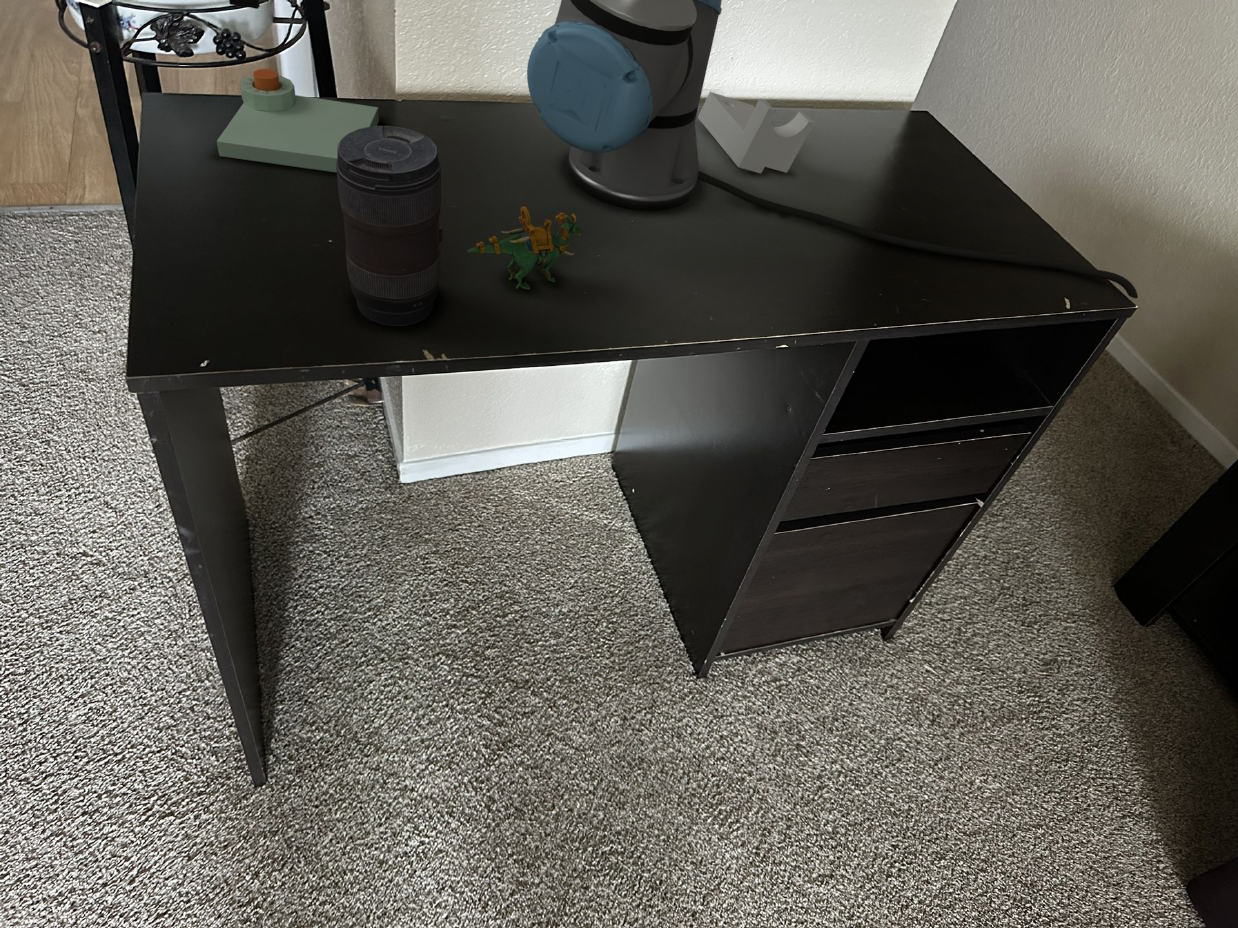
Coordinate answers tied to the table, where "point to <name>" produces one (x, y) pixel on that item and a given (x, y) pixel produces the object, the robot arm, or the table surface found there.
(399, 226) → the camera lens
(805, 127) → the bracket
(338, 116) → the scale
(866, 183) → the table surface
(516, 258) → the figurine
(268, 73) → the button
